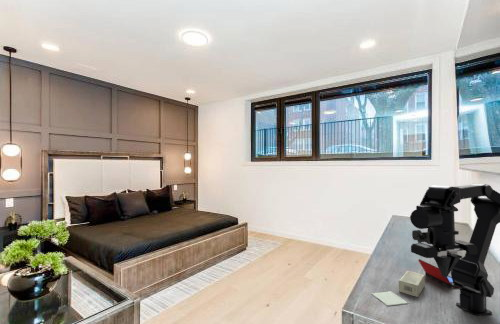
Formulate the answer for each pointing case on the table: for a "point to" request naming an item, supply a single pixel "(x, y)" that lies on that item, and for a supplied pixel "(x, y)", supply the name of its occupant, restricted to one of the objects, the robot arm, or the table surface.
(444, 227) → the robot arm
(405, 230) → the table surface
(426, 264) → the handheld game console
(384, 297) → the mat
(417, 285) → the skincare box
